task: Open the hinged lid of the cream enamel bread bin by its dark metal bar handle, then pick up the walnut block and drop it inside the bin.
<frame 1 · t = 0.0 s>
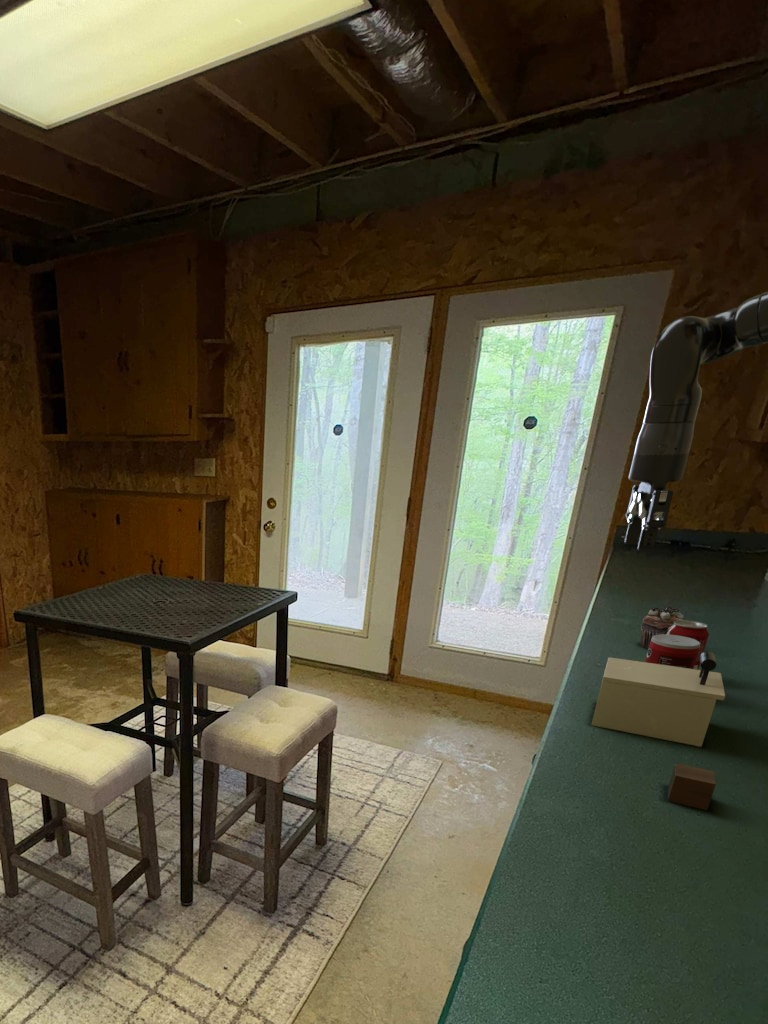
hand: (637, 547, 112), 30 cm above the kitchen counter, tool pointing down, fingers open, 8 cm apart
block: (686, 800, 90), on the kitchen counter
bread bin: (645, 723, 114), on the kitchen counter
canned food: (661, 692, 127), on the kitchen counter
bin lid: (664, 664, 109), point 12 cm above the kitchen counter, hinge at 0.0°
cupcake: (660, 649, 152), on the kitchen counter
soda can: (674, 678, 134), on the kitchen counter
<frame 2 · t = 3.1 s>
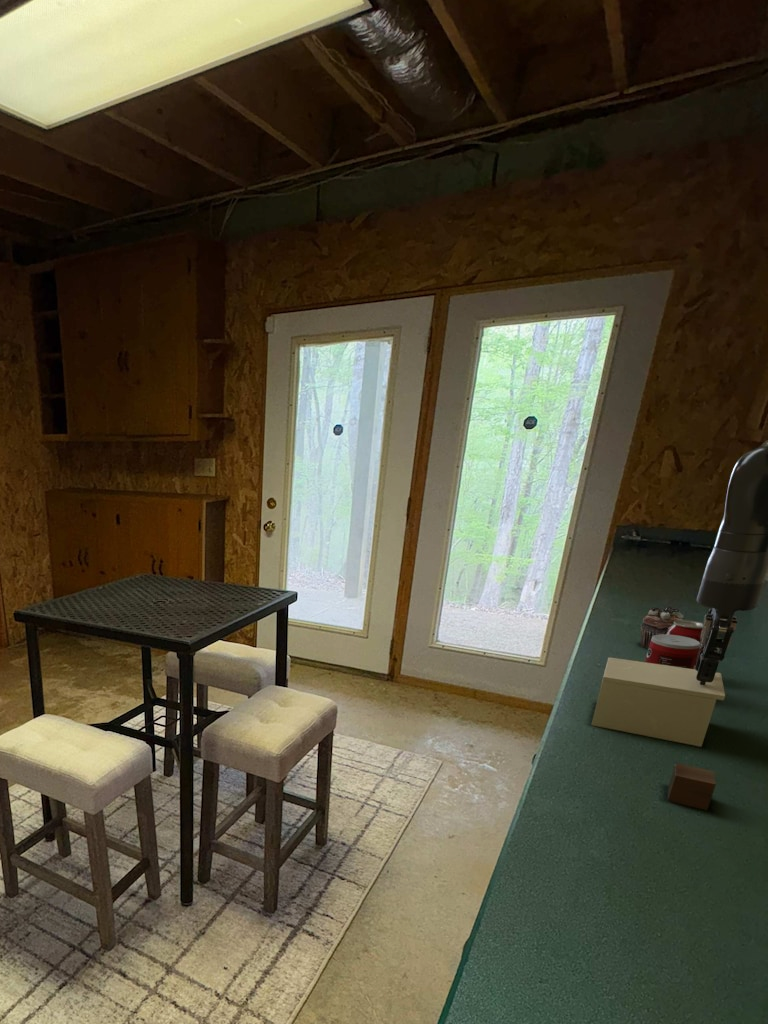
hand: (703, 675, 106), 11 cm above the kitchen counter, tool pointing down, fingers closed on bin lid, 5 cm apart
bin lid: (664, 664, 109), point 12 cm above the kitchen counter, hinge at 0.0°, touching gripper
everything else where it was.
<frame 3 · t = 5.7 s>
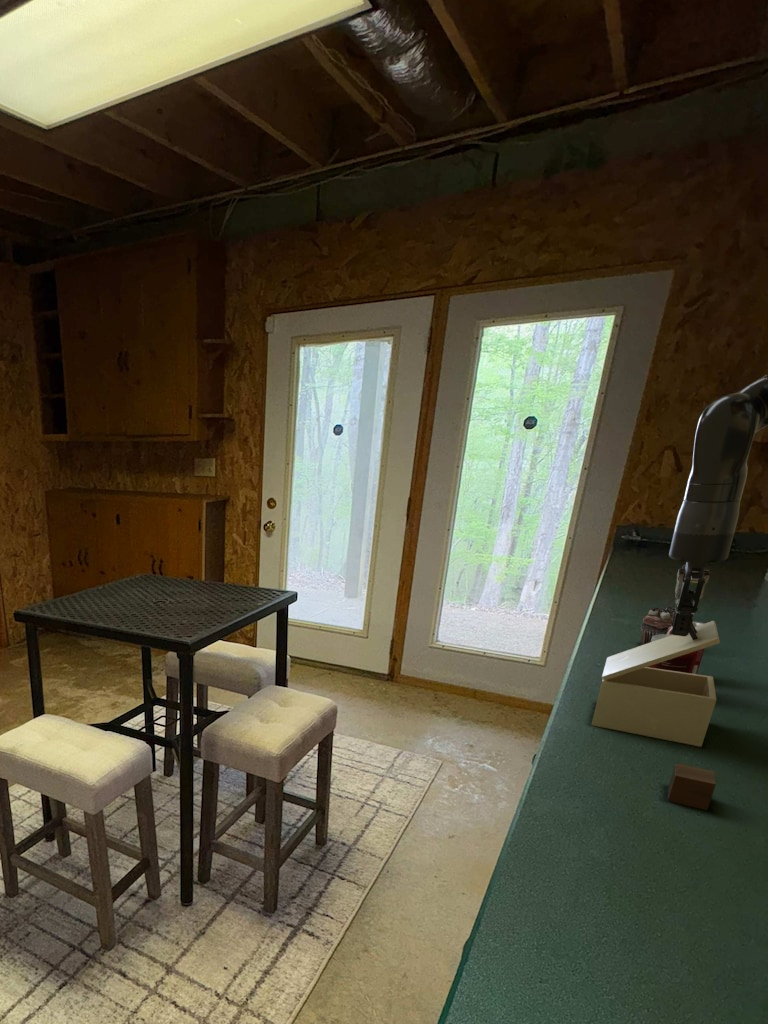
hand: (679, 630, 106), 18 cm above the kitchen counter, tool pointing down, fingers closed on bin lid, 5 cm apart
bin lid: (652, 639, 109), point 16 cm above the kitchen counter, hinge at 34.1°, touching gripper
everything else where it was.
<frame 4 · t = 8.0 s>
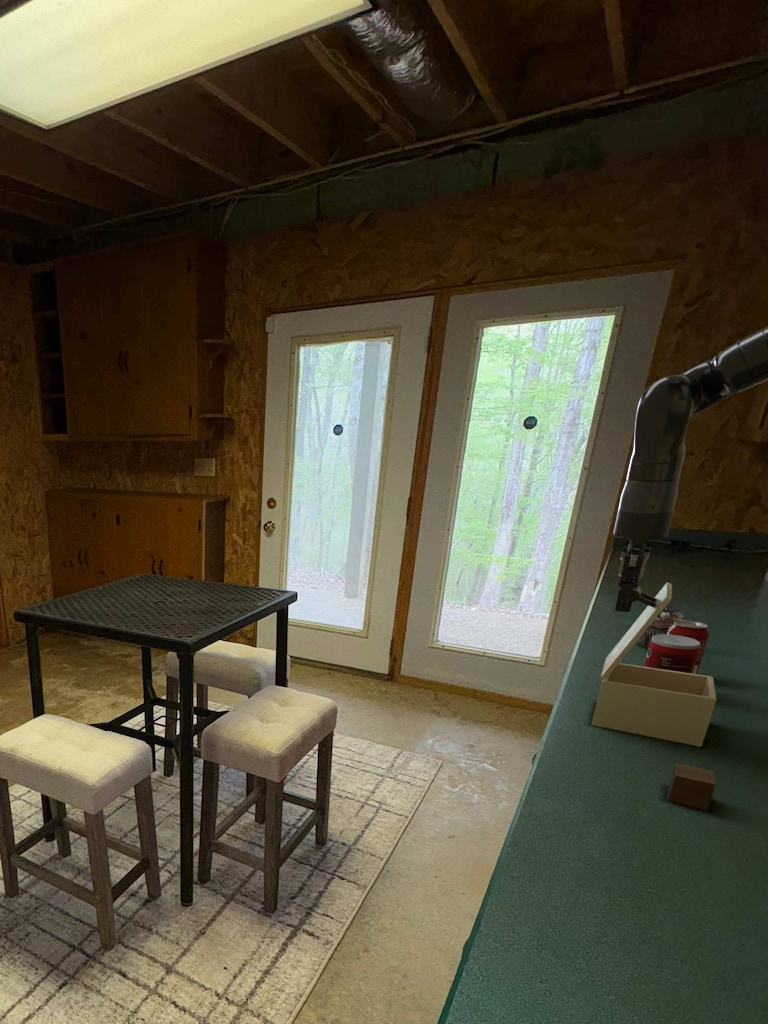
hand: (623, 607, 110), 21 cm above the kitchen counter, tool pointing down, fingers closed on bin lid, 5 cm apart
bin lid: (622, 624, 111), point 18 cm above the kitchen counter, hinge at 68.3°, touching gripper
everything else where it was.
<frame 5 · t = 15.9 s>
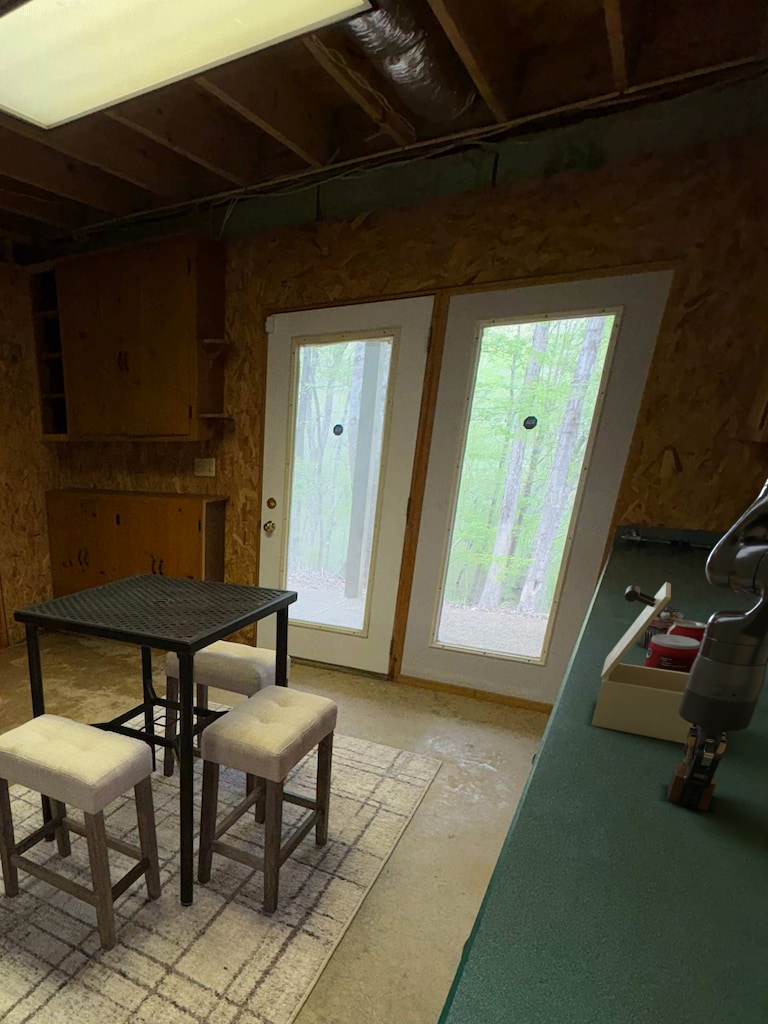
hand: (687, 797, 90), 0 cm above the kitchen counter, tool pointing down, fingers closed on block, 4 cm apart
block: (686, 800, 90), on the kitchen counter, touching gripper
bin lid: (622, 624, 111), point 18 cm above the kitchen counter, hinge at 68.9°
everything else where it was.
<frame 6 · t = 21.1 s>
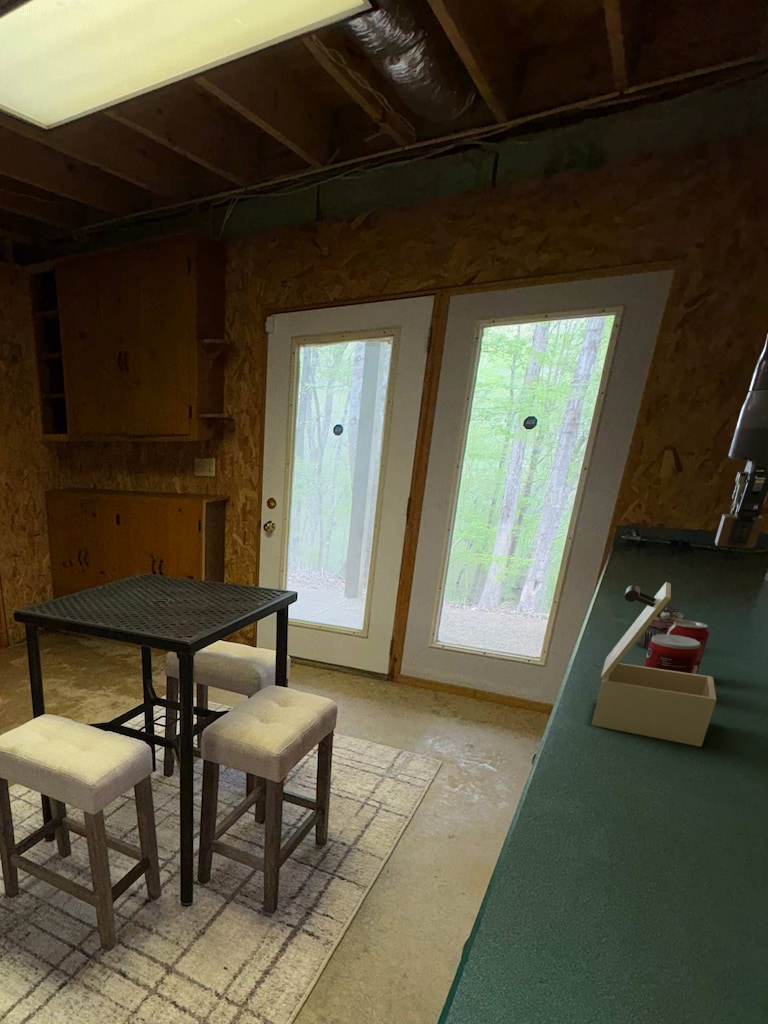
hand: (735, 543, 97), 33 cm above the kitchen counter, tool pointing down, fingers closed on block, 4 cm apart
block: (733, 545, 97), point 33 cm above the kitchen counter, touching gripper
everything else where it was.
when the fingers open (8 cm above the kitchen counter, at t = 26.6 s): block drops 7 cm, resting on bread bin.
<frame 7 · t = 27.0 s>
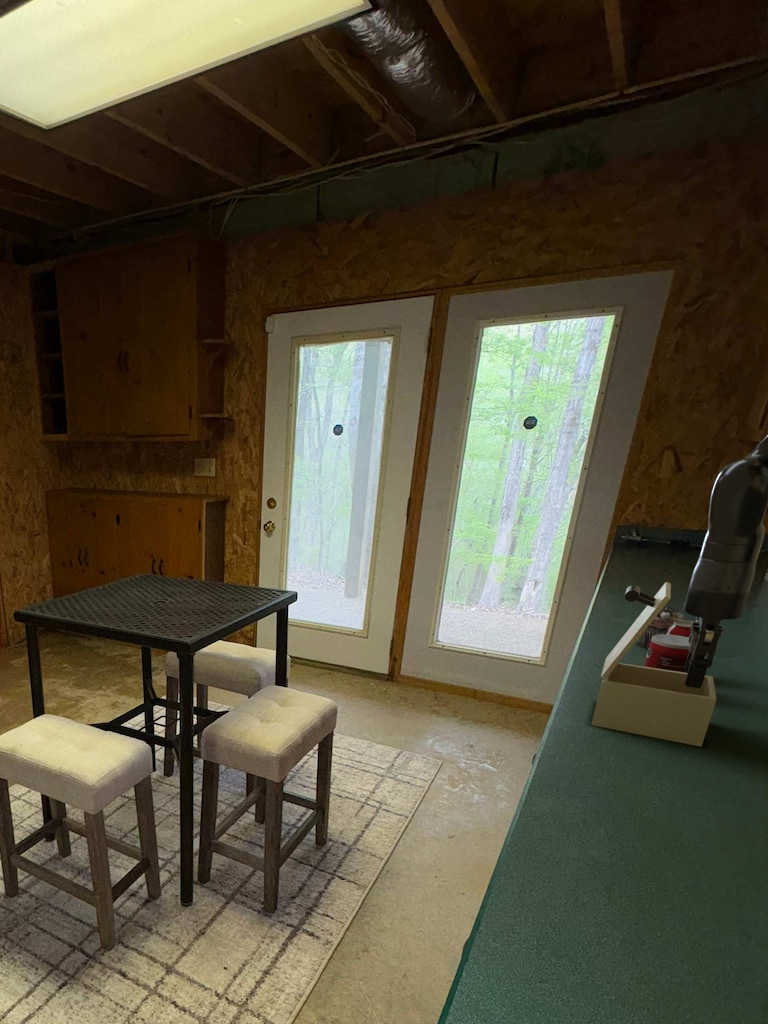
hand: (691, 679, 107), 10 cm above the kitchen counter, tool pointing down, fingers open, 8 cm apart
block: (676, 725, 111), point 1 cm above the kitchen counter, touching bread bin
everything else where it was.
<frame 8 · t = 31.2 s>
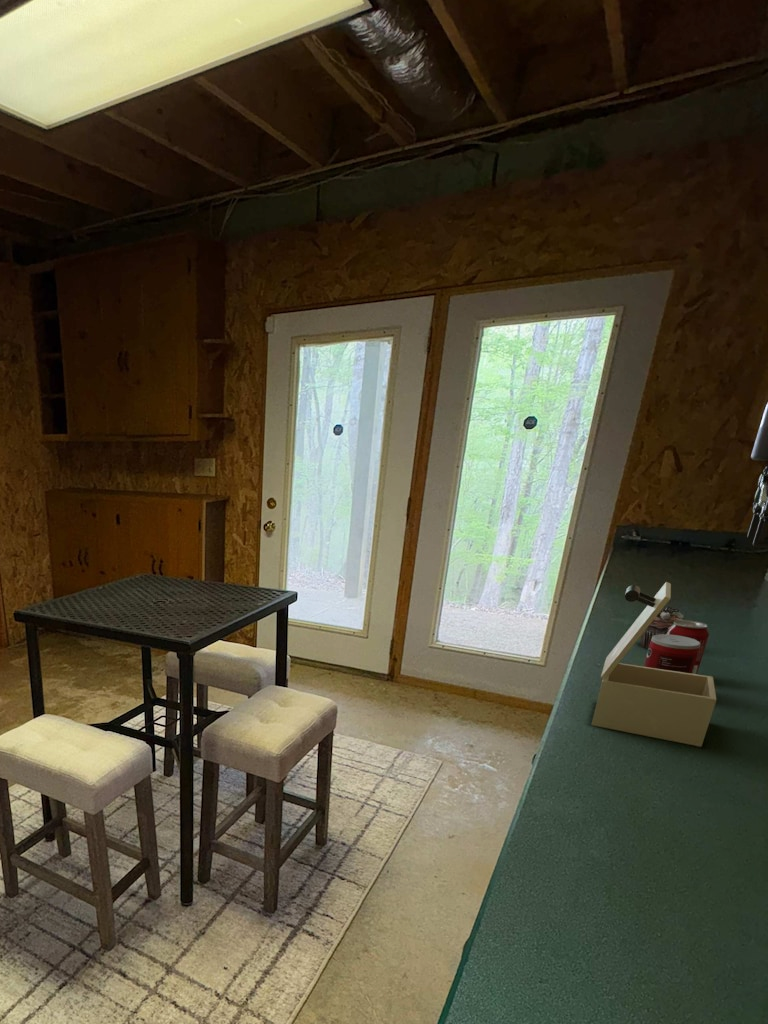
hand: (759, 543, 91), 34 cm above the kitchen counter, tool pointing down, fingers open, 8 cm apart
nothing on the kitchen counter moved.
at the end: bin lid at +69° (first picture: +0°); block inside the target area in the bread bin (4.4 cm from its centre), point 0.8 cm above the bread bin's base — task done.
